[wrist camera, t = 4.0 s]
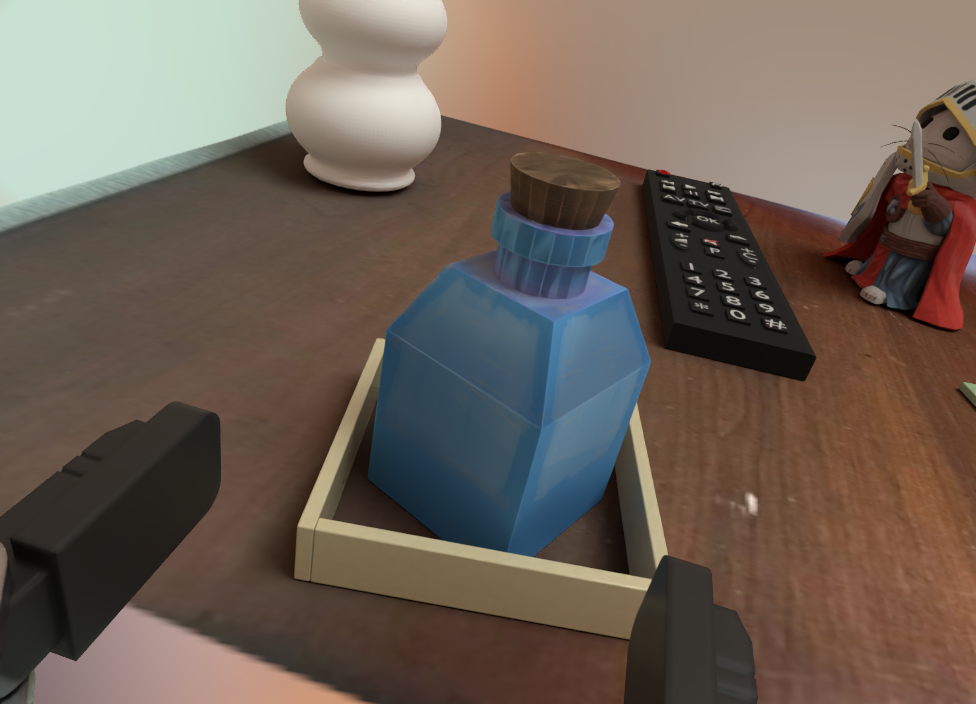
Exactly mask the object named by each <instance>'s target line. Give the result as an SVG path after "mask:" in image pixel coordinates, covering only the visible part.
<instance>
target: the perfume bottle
mask: <svg viewBox="0 0 976 704" xmlns="http://www.w3.org/2000/svg"><path fill="white" fill-rule="evenodd" d="M510 165H511V191H510V192H507V193H504V194H501V196H500V197H499V198H498V199H497V203H496V208H495V213H494V218H493V224H492V229H491V231H492V236H493V238H494V239H495V240H496V241H497V242H498V248H497V250H495V251H492V252H488V253H485V254H481V255H478V256H475V257H471V258H468V259H464V260H461V261H457V262H454V263H450V264H448V265H447V266H446V267H445V268H444V269H443V270H442V271H441V272H440V273H439V274H438V275H437V276H436V278H435V279H434V280H433V281H432V282H431V283H430V284H429V285H428V286H427V287H426V288H425V289H424V290H423V291H422V292H421V293H420V294H419V296H418V297H417V298H416V299H415V300H414V301H413V302H412V303H411V304H410V305H409V306H408V307H407V308H406V309H405V310H404V311H403V312H402V314H401V315H400V316H399V317H398V318H397V319H396V320H395V321H394V322H393V323H392V324H391V325H390V326H389V327H388V328H387V330H386V337H385V345H384V353H383V361H382V369H381V377H380V385H379V393H378V400H377V408H376V416H375V424H374V432H373V440H372V448H371V456H370V463H369V471H368V479H369V480H370V481H371V482H372V483H373V484H375V485H376V486H377V487H378V488H380V489H381V490H382V491H383V492H384V493H386V494H387V495H388V496H389V497H391V498H392V499H393V500H394V501H395V502H397V503H398V504H399V505H400V506H402V507H403V508H404V509H405V510H406V511H408V512H409V513H410V514H411V515H413V516H414V517H415V518H416V519H417V520H419V521H420V522H421V523H422V524H424V525H425V526H426V527H427V528H428V529H430V530H431V531H432V532H433V533H435V534H436V535H437V536H438V537H439V538H441V539H442V540H443V541H448V542H453V543H459V544H464V545H470V546H475V547H480V548H486V549H491V550H497V551H502V552H507V553H513V554H518V555H524V556H529V557H533V556H534V555H536V554H537V553H538V552H539V551H540V550H542V549H543V548H544V547H545V546H546V545H548V544H549V543H550V542H551V541H552V540H554V539H555V538H556V537H557V536H558V535H560V534H561V533H562V532H563V531H564V530H566V529H567V528H568V527H569V526H570V525H572V524H573V523H574V522H575V521H577V520H578V519H579V518H580V517H581V516H583V515H584V514H585V513H586V512H587V511H589V510H590V509H591V508H592V507H593V506H595V505H596V504H597V503H598V502H599V501H601V500H602V498H603V495H604V492H605V489H606V487H607V484H608V481H609V478H610V475H611V473H612V470H613V467H614V464H615V461H616V459H617V456H618V453H619V450H620V447H621V445H622V442H623V439H624V436H625V433H626V431H627V428H628V425H629V422H630V419H631V417H632V414H633V411H634V408H635V405H636V403H637V400H638V397H639V394H640V391H641V389H642V386H643V383H644V380H645V377H646V375H647V372H648V369H649V366H650V363H651V360H650V357H649V354H648V351H647V347H646V344H645V341H644V338H643V335H642V332H641V329H640V326H639V323H638V320H637V317H636V313H635V310H634V307H633V304H632V301H631V298H630V295H629V292H628V289H627V288H624V287H622V286H620V285H618V284H616V283H614V282H612V281H610V280H608V279H606V278H604V277H602V276H600V275H598V274H596V273H594V272H591V271H590V270H591V266H592V265H596V264H598V263H599V262H601V261H602V260H604V256H605V253H606V250H607V246H608V243H609V239H610V236H611V232H612V229H613V225H614V223H613V221H612V220H611V218H610V217H609V216H608V215H607V214H605V213H606V211H607V209H608V207H609V205H610V204H611V202H612V200H613V198H614V196H615V194H616V192H617V190H618V188H619V187H620V183H621V182H620V180H619V179H618V178H617V176H615V175H614V174H612V173H611V172H609V171H608V170H605V169H603V168H601V167H599V166H597V165H594V164H591V163H588V162H585V161H582V160H579V159H575V158H571V157H567V156H562V155H556V154H550V153H538V152H529V153H520V154H516V155H514V156H513V157H512V158H511V159H510Z"/></svg>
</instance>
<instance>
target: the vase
mask: <svg viewBox="0 0 976 704" xmlns="http://www.w3.org/2000/svg"><path fill="white" fill-rule="evenodd" d="M299 9H300V14H301V17H302V19H303V22H304V24H305V26H306V28H307V29H308V31H309V32H310V34H311V35H312V36H313V37H314V39H315V40H316V41H317V42H318V44H319V45H320V46H321V48H322V52H323V54H322V56H321V57H319V58H318V59H317V60H316V61H315V62H314V63H313V64H312V65H311V66H310V67H308V68H307V69H306V70H305V71H303V72H302V73H301V74H300V75H299V76H298V77H297V78H296V80H295V81H294V82H293V84H292V86H291V88H290V90H289V92H288V95H287V99H286V116H287V121H288V124H289V127H290V129H291V131H292V133H293V135H294V136H295V138H296V139H297V141H298V142H299V143H300V145H301V146H302V147H303V148H304V149H305V150H306V151H307V152H308V154H307V155H306V156H305V158H304V166H305V168H306V170H307V171H308V172H310V173H311V174H312V175H313V176H315V177H317V178H318V179H320V180H322V181H325V182H327V183H330V184H333V185H336V186H340V187H344V188H348V189H354V190H362V191H375V192H381V191H393V190H398V189H402V188H404V187H406V186H409V185H410V184H411V183H412V182H413V181H414V179H415V173H414V171H413V169H412V167H414V166H416V165H417V164H419V163H420V162H421V161H423V160H424V159H425V158H426V157H427V156H428V155H429V154H430V153H431V151H432V150H433V149H434V147H435V145H436V143H437V141H438V139H439V135H440V131H441V117H440V112H439V108H438V105H437V103H436V101H435V99H434V97H433V96H432V94H431V92H430V91H429V90H428V88H427V87H426V86H425V84H424V83H423V81H422V79H421V77H420V75H419V74H418V73H417V72H416V69H417V66H418V65H419V63H421V62H422V61H423V60H425V59H426V58H427V57H429V56H430V55H431V54H433V52H435V51H436V50H437V49H438V47H439V46H440V44H441V43H442V41H443V39H444V37H445V34H446V30H447V15H446V11H445V8H444V5H443V3H442V1H441V0H299Z"/></svg>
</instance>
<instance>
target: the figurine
mask: <svg viewBox="0 0 976 704" xmlns="http://www.w3.org/2000/svg"><path fill="white" fill-rule="evenodd" d="M895 126H896V125H895ZM902 128H903V127H902ZM904 129H905V128H904ZM906 130H907V129H906ZM908 131H909V130H908ZM910 132H911V137H910V138H909V140H908V141H907V143H906V144H905V145H903V146H898V149H897V152H895V153H893V154H891V155H890V156H889V157H888V158H887V159H886V160H885V161H884V163H883V165H882V166H881V168H880V170H879V172H878V173H877V175H876V177H875V178H872V180H871V182H870V183H869V185H868V187H867V188H866V190H865V192H864V193H863V195H862V197H861V198H860V200H859V202H858V203H857V205H856V207H855V208H854V210H853V212H852V214H851V215H852V217H851V219H850V220H849V222H848V224H847V225H846V227H845V229H843V231H842V234H841V236H840V237H839V239H838V240H840V241H843V242H845V243H848V242H850V243H848V244H847V245H845V246H843V247H841V248H839V249H837V250H836V251H832V252H828V253H824V254H823V257H848V258H852V259H856V260H853V261H851V262H849V263H848V264H847V266H846V268H845V270H846V271H847V272H848V273H850V274H853V276H851V279H853V280H855V282H856V283H857V285H858V286H859V287H860V288H863V289H862V291H861V292H860V295H861V296H862V297H863V298H864V299H866V300H868V301H870V302H872V303H875V304H882V303H887V307H891V308H897V309H902V310H908V309H916V310H915V312H914V314H913V316H912V317H913V318H916V319H918V320H921V321H923V322H926V323H928V324H931V325H934V326H936V327H939V328H944V329H948V330H952V331H953V330H957V329H961V328H963V311H962V307H961V305H960V300H959V288H960V281H961V279H962V276H963V273H964V271H965V269H966V266H967V264H968V262H969V259H970V257H971V255H972V252H973V249H974V246H975V242H976V80H971V81H968V82H965V83H962V84H959V85H956V86H954V87H953V88H951V89H950V90H948V91H947V92H946V93H944V94H943V95H941V96H940V97H939V98H937V99H936V100H934V101H933V102H931V103H930V104H929V105H927V106H926V107H924V108H923V109H922V110H920V112H919V113H918V115H917V117H916V119H915V121H914V124H913V127H912V131H910ZM899 142H900V141H899ZM894 143H896V142H894ZM897 168H898V169H899V170H900V171H902V172H904V173H899V174H895V175H893V173H894V172H895V170H896V169H897ZM892 175H893V176H892ZM858 260H859V261H858ZM861 261H863V262H865V263H862V262H861ZM922 287H924V288H925V289H924V291H923V294H922V296H921V298H920V296H919V293H920V291H921V289H922Z"/></svg>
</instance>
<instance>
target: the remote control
mask: <svg viewBox="0 0 976 704" xmlns="http://www.w3.org/2000/svg"><path fill="white" fill-rule="evenodd" d="M643 193H644V200H645V208H646V215H647V222H648V229H649V236H650V243H651V250H652V258H653V265H654V272H655V279H656V286H657V293H658V300H659V308H660V315H661V322H662V329H663V336H664V343H665V348H668V349H672V350H676V351H680V352H684V353H689V354H693V355H697V356H701V357H706V358H710V359H714V360H718V361H723V362H727V363H731V364H735V365H739V366H744V367H748V368H752V369H756V370H761V371H765V372H769V373H773V374H778V375H782V376H786V377H790V378H795V379H799V380H803V381H805V380H806V378H807V376H808V374H809V372H810V370H811V368H812V366H813V364H814V362H815V360H816V356H815V354H814V352H813V350H812V348H811V346H810V344H809V342H808V340H807V338H806V336H805V334H804V332H803V330H802V329H801V327H800V325H799V323H798V321H797V319H796V317H795V315H794V313H793V311H792V309H791V307H790V305H789V303H788V302H787V300H786V298H785V296H784V294H783V292H782V290H781V288H780V286H779V284H778V282H777V280H776V278H775V276H774V274H773V273H772V271H771V269H770V267H769V265H768V263H767V261H766V259H765V257H764V255H763V253H762V251H761V249H760V247H759V245H758V244H757V242H756V240H755V238H754V236H753V234H752V232H751V230H750V228H749V226H748V224H747V222H746V220H745V218H744V216H743V215H742V213H741V211H740V209H739V207H738V205H737V203H736V201H735V199H734V197H733V195H732V193H731V191H730V189H729V188H727V187H724V186H721V184H718V183H713V182H709V183H706V182H702V181H698V180H693V179H688V178H684V177H680V176H675V175H671V174H670V173H669V172H667V171H665V170H657V171H653V170H647V173H646V176H645V179H644V183H643Z"/></svg>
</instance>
